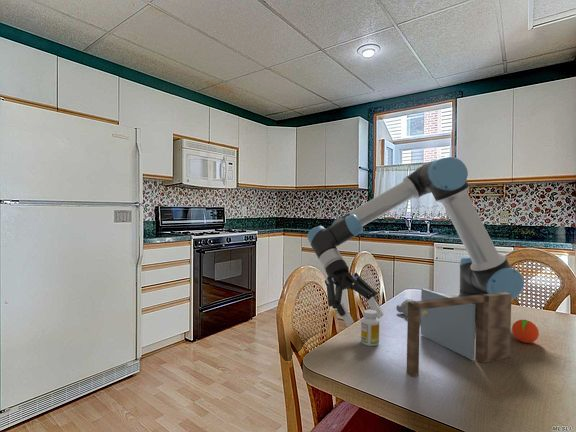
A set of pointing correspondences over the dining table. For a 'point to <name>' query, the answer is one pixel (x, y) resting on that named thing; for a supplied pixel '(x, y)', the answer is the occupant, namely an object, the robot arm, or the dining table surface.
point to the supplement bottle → (370, 328)
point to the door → (449, 324)
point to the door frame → (489, 326)
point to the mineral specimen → (405, 308)
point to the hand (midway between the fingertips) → (366, 320)
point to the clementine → (525, 331)
